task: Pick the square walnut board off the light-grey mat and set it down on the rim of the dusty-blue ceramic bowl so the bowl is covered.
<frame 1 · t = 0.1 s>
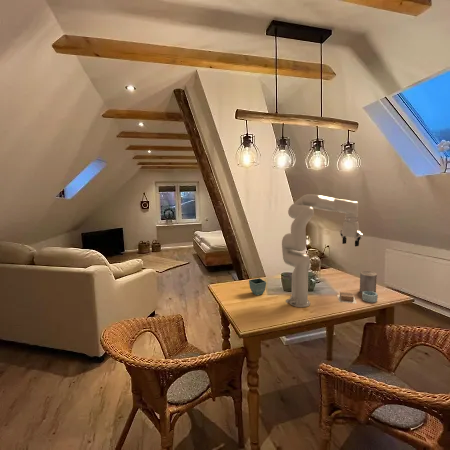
hand: (350, 244, 189), 31 cm above the table, fingers open, 9 cm apart
bowl: (369, 300, 175), on the table
flower pot: (257, 294, 189), on the table
mat: (346, 299, 177), on the table
pillar candle: (367, 293, 186), on the table
board: (346, 298, 176), resting on mat
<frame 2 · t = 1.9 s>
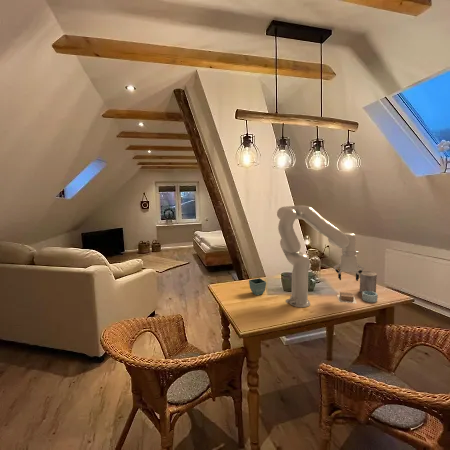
hand: (348, 279, 175), 13 cm above the table, fingers open, 9 cm apart
nothing on the table moved.
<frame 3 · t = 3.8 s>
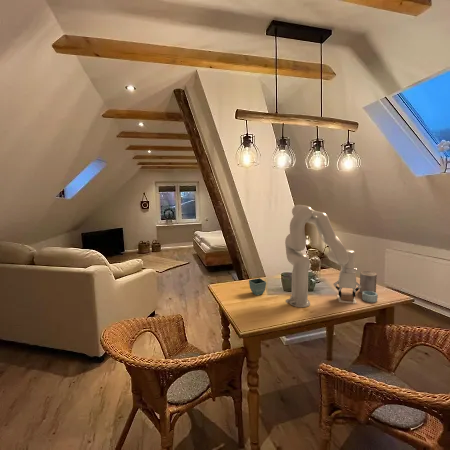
hand: (346, 297, 176), 2 cm above the table, fingers closed on board, 7 cm apart
board: (346, 298, 176), resting on mat, touching gripper
everything else where it was.
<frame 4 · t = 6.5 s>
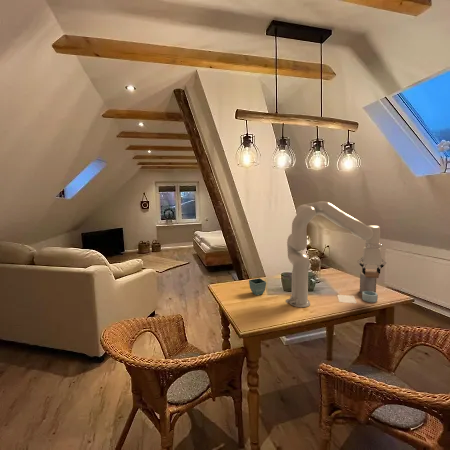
hand: (371, 274, 172), 17 cm above the table, fingers closed on board, 7 cm apart
board: (370, 275, 173), point 16 cm above the table, touching gripper
everything else where it was.
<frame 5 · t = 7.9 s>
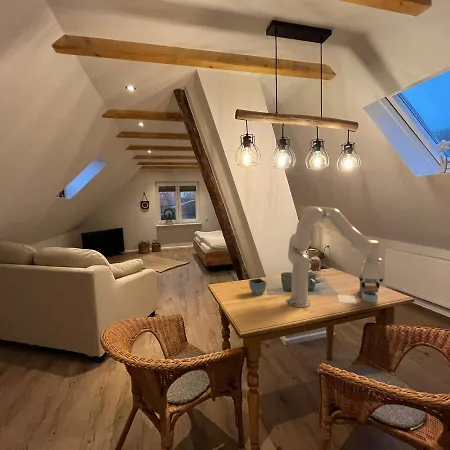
hand: (370, 288, 174), 8 cm above the table, fingers closed on board, 7 cm apart
board: (370, 289, 174), point 7 cm above the table, touching gripper
everything else where it was.
when the fingers open (6 cm above the table, at t = 9.2 s): board stays where it is, resting on bowl.
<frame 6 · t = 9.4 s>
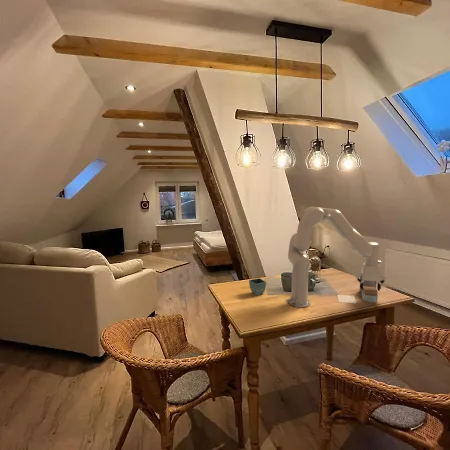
hand: (370, 289, 174), 7 cm above the table, fingers open, 9 cm apart
board: (369, 293, 174), point 4 cm above the table, touching bowl
everything else where it was.
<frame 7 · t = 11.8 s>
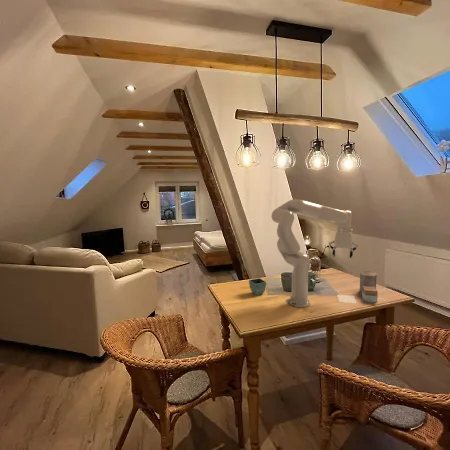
hand: (342, 256, 179), 26 cm above the table, fingers open, 9 cm apart
nothing on the table moved.
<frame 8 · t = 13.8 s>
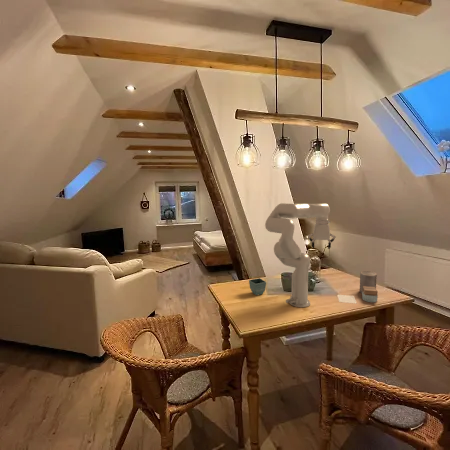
hand: (321, 248, 185), 30 cm above the table, fingers open, 9 cm apart
nothing on the table moved.
at the end: board 0.1 cm off-centre on the bowl, point 4.5 cm above the bowl's base; board tilted 0°; the gripper is holding nothing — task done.
